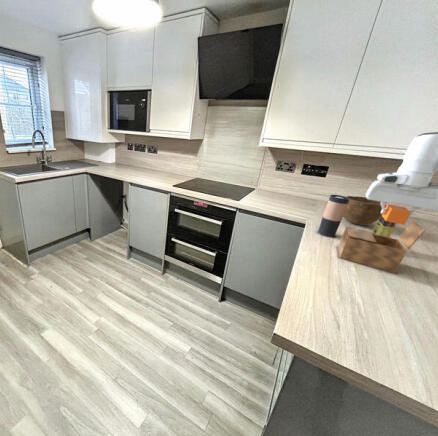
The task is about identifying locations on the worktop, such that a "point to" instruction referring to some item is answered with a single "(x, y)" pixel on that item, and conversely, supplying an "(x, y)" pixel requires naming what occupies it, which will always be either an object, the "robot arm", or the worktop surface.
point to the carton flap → (411, 234)
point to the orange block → (396, 214)
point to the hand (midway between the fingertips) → (394, 215)
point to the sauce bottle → (383, 227)
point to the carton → (371, 249)
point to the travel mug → (333, 215)
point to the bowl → (362, 210)
